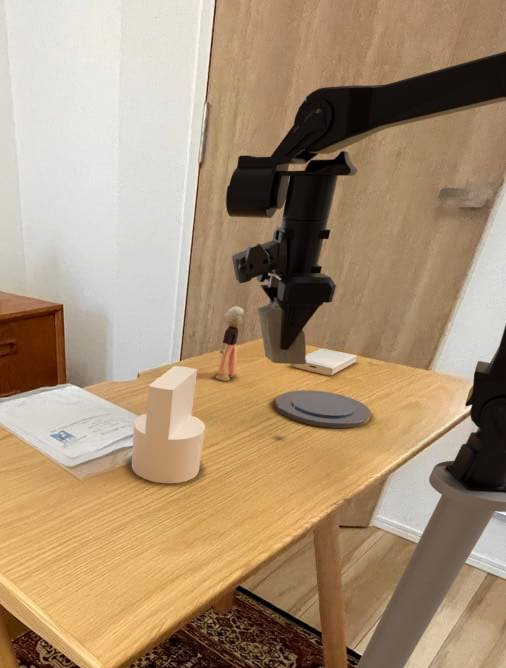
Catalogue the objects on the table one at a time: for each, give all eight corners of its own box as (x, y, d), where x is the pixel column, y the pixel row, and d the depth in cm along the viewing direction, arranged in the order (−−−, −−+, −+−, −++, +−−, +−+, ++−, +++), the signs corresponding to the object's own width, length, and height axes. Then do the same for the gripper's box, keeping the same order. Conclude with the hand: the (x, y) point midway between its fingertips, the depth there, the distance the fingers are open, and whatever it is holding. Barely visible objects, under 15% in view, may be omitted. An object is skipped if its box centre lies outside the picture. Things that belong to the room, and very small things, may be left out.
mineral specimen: (284, 342, 78) (303, 290, 72) (307, 371, 73) (329, 318, 67) (241, 343, 77) (256, 291, 71) (261, 373, 72) (279, 319, 66)
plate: (351, 396, 89) (353, 390, 88) (383, 430, 76) (386, 423, 76) (267, 392, 89) (268, 386, 89) (286, 426, 77) (287, 419, 77)
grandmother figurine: (233, 383, 93) (245, 311, 86) (212, 381, 94) (223, 309, 86) (236, 371, 99) (249, 303, 91) (217, 369, 100) (228, 301, 92)
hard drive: (320, 347, 108) (294, 358, 101) (357, 355, 104) (333, 367, 96) (318, 355, 109) (292, 367, 102) (355, 363, 105) (331, 376, 97)
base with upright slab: (147, 446, 71) (153, 361, 64) (207, 460, 67) (221, 372, 60) (120, 473, 64) (123, 381, 57) (185, 489, 61) (197, 395, 54)
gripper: (232, 215, 72) (217, 328, 81) (254, 223, 57) (233, 360, 66) (309, 216, 72) (286, 329, 81) (353, 224, 56) (318, 362, 66)
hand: (279, 343), depth 73 cm, fingers closed on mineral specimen, 6 cm apart
